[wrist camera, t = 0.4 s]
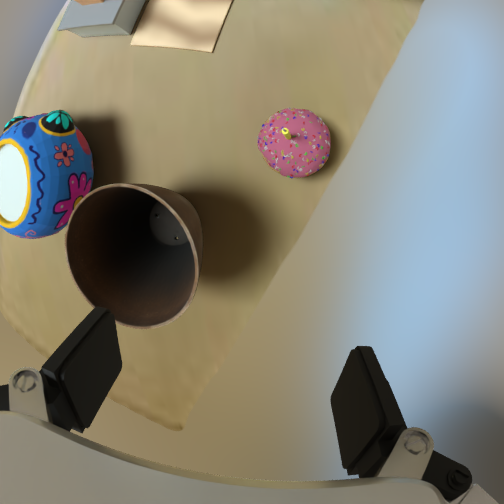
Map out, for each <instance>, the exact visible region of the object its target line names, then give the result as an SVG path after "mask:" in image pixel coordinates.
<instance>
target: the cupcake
mask: <svg viewBox="0 0 504 504" xmlns="http://www.w3.org/2000/svg"><path fill="white" fill-rule="evenodd" d="M330 147H331V140H330V132H329V129H328V127H327V126H326V124H325V123H324V122H323V121H322V120H321V118H319V117H317V116H316V115H315V114H314V113H313V112H312V111H309V110H305V109H294V108H287V109H283V110H281V111H278V112H277V113H275V114H273V115H272V116H271V117H270V118H269V119H268V120H267V121H266V122H265V123H264V124H263V125H262V128H261V130H260V132H259V135H258V148H259V150H260V151H261V153H262V156H263V158H264V160H265V161H266V163H267V164H268V165H269V167H270V168H271V169H272V170H274V171H276V172H278V173H280V174H281V175H283V176H286V177H290V178H301V177H306V176H309V175H311V174H313V173H315V172H317V171H318V170H319V169H321V168H322V167H323V165H324V164H325V163H326V161H327V159H328V157H329V153H330Z"/></svg>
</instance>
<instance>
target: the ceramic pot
mask: <svg viewBox="0 0 504 504" xmlns="http://www.w3.org/2000/svg"><path fill="white" fill-rule="evenodd" d="M93 175H94V168H93V159H92V153H91V150H90V147H89V145H88V142H87V140H86V139H85V137H84V136H83V134H82V133H81V132H80V131H79V129H78V128H77V127H76V126H75V125H74V123H73V120H72V118H71V116H70V115H69V114H68V113H67V112H65V111H63V110H56V111H52V112H50V113H45V114H41V115H36V116H33V117H26V116H18V117H15V118H13V119H12V120H10V121H9V122H8V123H7V124H6V126H5V128H4V131H3V134H2V136H1V137H0V226H1V227H2V228H3V229H4V230H6V231H7V232H8V233H10V234H12V235H15V236H17V237H20V238H28V239H36V238H42V237H46V236H50V235H53V234H56V233H58V232H59V231H60V230H62V229H63V228H64V227H65V226H66V225H68V221H69V218H70V216H71V214H72V212H73V210H74V209H75V207H76V206H77V204H78V203H79V202H80V201H81V200H82V199H83V198H84V197H85V196H86V195H87V194H88V193H90V190H91V187H92V182H93Z"/></svg>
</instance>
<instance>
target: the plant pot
mask: <svg viewBox="0 0 504 504" xmlns="http://www.w3.org/2000/svg"><path fill="white" fill-rule="evenodd" d="M156 214H158V217H156ZM175 237H178V239H177V240H176V239H175ZM65 254H66V260H67V264H68V268H69V271H70V274H71V276H72V279H73V281H74V283H75V285H76V286H77V288H78V290H79V291H80V293H81V294H82V295H83V297H84V298H85V299H86V300H87V302H88V303H89V304H90V305H91V306H92V307H93V308H95V307H97V306H98V307H102V308H106V309H109V310H110V311H111V313H112V314H114V317H115V322H116V323H118V324H120V325H123V326H126V327H130V328H136V329H153V328H158V327H162V326H165V325H167V324H169V323H171V322H173V321H175V320H176V319H177V318H178V317H180V316H181V315H182V314H183V313H184V312H185V311H186V309H187V308H188V307H189V305H190V303H191V302H192V300H193V298H194V295H195V292H196V289H197V285H198V280H199V275H200V270H201V264H202V255H203V233H202V226H201V222H200V218H199V216H198V214H197V211H196V210H195V208H194V207H193V205H192V204H191V203H190V202H189V201H188V200H187V199H186V198H184V197H183V196H181V195H180V194H178V193H176V192H174V191H171V190H169V189H166V188H162V187H158V186H153V185H147V184H110V185H106V186H102V187H99V188H97V189H95V190H93V191H91V192H90V193H88V194H87V195H86V196H85V197H84V198H83V199H82V200H81V201H80V202H79V203H78V204H77V206H76V207H75V209H74V210H73V212H72V214H71V216H70V218H69V221H68V225H67V229H66V234H65Z"/></svg>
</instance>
